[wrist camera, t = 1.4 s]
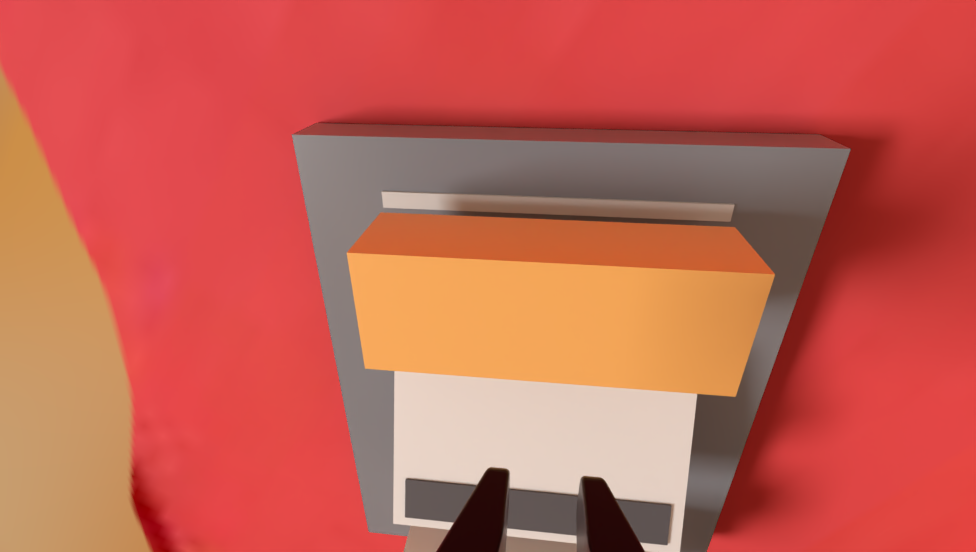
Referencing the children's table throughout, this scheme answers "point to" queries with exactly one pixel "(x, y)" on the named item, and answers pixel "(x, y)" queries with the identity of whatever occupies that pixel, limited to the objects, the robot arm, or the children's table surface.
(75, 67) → the children's table surface
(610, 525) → the robot arm
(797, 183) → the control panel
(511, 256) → the orange key
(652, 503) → the cream plate with stripe
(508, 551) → the cream key
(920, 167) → the children's table surface
